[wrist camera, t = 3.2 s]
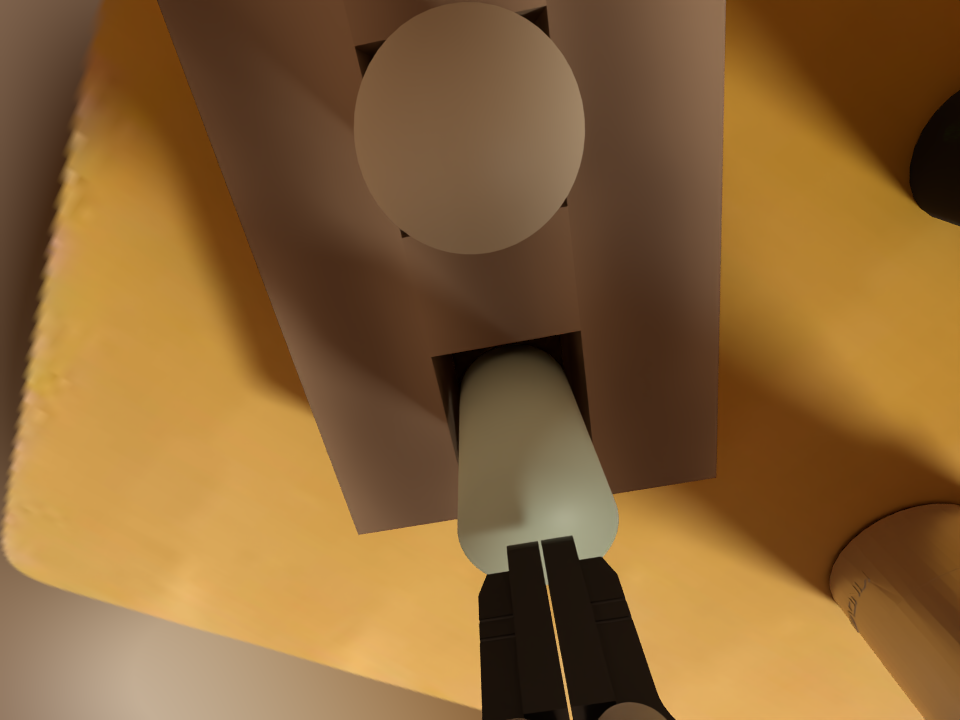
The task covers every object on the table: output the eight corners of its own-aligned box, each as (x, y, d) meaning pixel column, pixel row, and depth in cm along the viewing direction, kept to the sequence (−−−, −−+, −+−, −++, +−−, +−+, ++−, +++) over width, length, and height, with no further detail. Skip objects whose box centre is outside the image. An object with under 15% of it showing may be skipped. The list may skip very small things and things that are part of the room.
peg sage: (562, 335, 18) (612, 448, 12) (573, 430, 20) (623, 572, 14) (449, 355, 18) (442, 477, 12) (470, 447, 20) (473, 595, 14)
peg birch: (525, 38, 14) (572, -23, 8) (543, 188, 16) (594, 233, 10) (383, 67, 14) (322, 30, 8) (416, 212, 16) (387, 272, 10)
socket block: (646, -58, 17) (728, -138, 12) (661, 399, 25) (716, 477, 20) (246, 28, 18) (153, -10, 13) (381, 446, 26) (358, 534, 20)
